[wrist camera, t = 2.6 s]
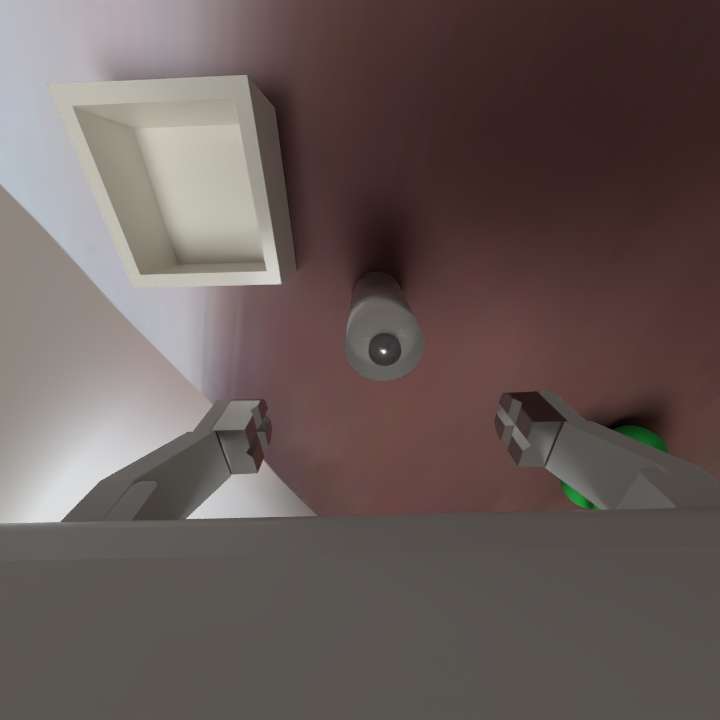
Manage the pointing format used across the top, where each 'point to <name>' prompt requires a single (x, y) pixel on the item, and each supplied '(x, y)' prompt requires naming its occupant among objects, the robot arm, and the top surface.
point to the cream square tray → (184, 177)
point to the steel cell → (382, 329)
